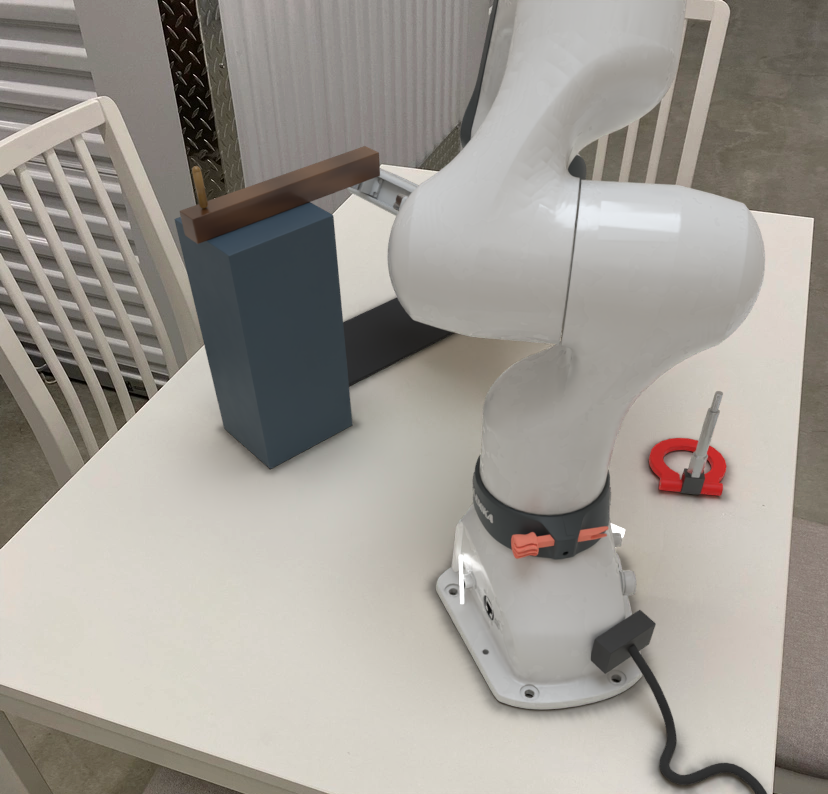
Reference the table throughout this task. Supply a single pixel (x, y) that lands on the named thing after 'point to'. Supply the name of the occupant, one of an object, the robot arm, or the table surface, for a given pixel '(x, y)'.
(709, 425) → the tow hook
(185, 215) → the hanger bar
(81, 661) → the table surface
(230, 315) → the stand
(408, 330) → the mat
